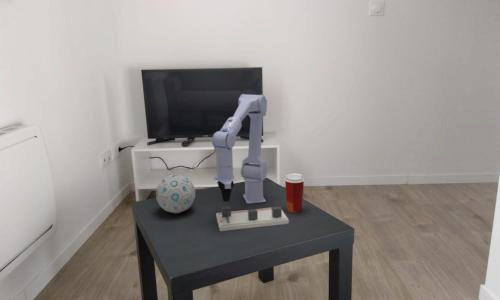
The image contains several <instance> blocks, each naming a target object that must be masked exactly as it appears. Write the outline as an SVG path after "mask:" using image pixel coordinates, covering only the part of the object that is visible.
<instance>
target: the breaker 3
mask: <svg viewBox="0 0 500 300" xmlns="http://www.w3.org/2000/svg"><path fill="white" fill-rule="evenodd" d="M271 208H272V216H273V217H279V216H282V211H283V209H282V207H281V206H272V207H271Z"/></svg>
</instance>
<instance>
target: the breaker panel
mask: <svg viewBox="0 0 500 300" xmlns="http://www.w3.org/2000/svg"><path fill="white" fill-rule="evenodd" d="M256 209H257V216H258V219H251V220H249V219H248V210H249V209H246V210H244V209H243V210H236V211H233V210H232V211H231V216H224V217H222V212H216V213H215V214H216V215H215V216H216V217H215V218H216V222H217V225H218V229H219V232H226V231H234V230H235V231H236V230H243V229H252V228H253V229H254V228H263V227H271V226H279V225H281V226H282V225H289V223H290V221H289V218H288V217H287V215H286V213H285V212H284V211H283V210H282V216H279V217H273V216H272V207H265V208H256Z"/></svg>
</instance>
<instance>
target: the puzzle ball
mask: <svg viewBox="0 0 500 300" xmlns="http://www.w3.org/2000/svg"><path fill="white" fill-rule="evenodd" d="M155 196H156V201H157V204H158V206H159V207H160V208H161V209H163V210H164V211H166V212H168V213H173V214H180V213H183V212H185V211H186V210H189V209H190V208H191V207H192V205H193V204H194V201H196V199H195V198H196V189H195V186H194V184H193V182H192V181H191V179H189V178H188V177H186V176H184V175H181V174H175V173H174V174H171V175H167V176H165V177H164V178H162V180H161V181H160V182H159V183H158V185H157V187H156V191H155Z"/></svg>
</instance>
